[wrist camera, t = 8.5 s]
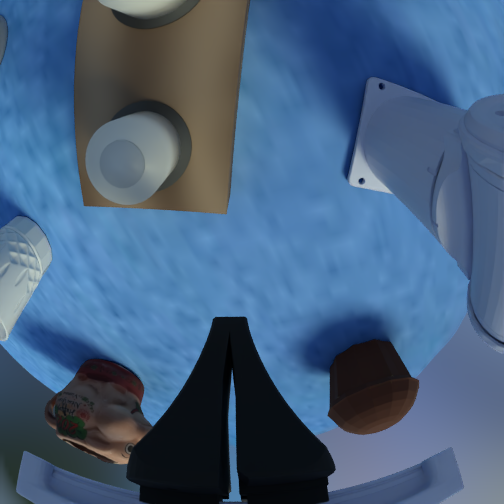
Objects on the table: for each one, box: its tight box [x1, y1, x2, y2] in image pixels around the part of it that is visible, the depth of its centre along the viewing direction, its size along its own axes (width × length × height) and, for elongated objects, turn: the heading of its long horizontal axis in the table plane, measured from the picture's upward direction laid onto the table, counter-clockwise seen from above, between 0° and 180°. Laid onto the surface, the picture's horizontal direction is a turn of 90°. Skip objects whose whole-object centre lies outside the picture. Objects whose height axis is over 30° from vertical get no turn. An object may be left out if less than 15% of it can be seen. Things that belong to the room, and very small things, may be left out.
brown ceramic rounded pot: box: [45, 359, 152, 464], centre depth 29 cm, size 20×12×14 cm, turn 100°
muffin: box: [328, 339, 419, 435], centre depth 27 cm, size 12×11×10 cm
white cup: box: [0, 216, 52, 341], centre depth 17 cm, size 8×8×10 cm
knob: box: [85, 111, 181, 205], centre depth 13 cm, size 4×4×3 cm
